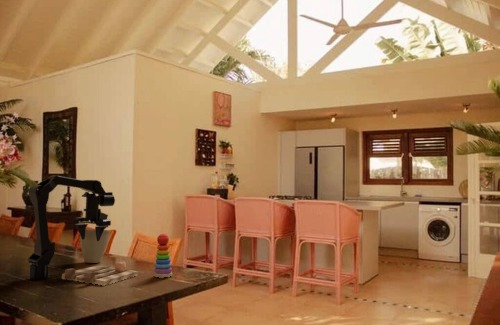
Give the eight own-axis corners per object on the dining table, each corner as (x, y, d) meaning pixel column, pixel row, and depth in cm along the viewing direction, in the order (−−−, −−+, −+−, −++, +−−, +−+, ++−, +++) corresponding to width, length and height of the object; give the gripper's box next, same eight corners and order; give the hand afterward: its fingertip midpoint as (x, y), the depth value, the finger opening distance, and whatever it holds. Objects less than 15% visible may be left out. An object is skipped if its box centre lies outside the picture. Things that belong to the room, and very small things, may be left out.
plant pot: (113, 261, 218) (116, 230, 220) (97, 264, 204) (101, 231, 206) (86, 259, 221) (90, 228, 223) (69, 262, 206) (73, 229, 208)
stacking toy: (164, 273, 192) (165, 232, 193) (175, 276, 187) (177, 233, 188) (150, 276, 186) (151, 233, 187) (161, 279, 181) (162, 235, 182)
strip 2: (88, 283, 168) (89, 273, 168) (83, 282, 169) (84, 272, 170) (127, 272, 188) (127, 263, 188) (122, 271, 189) (122, 263, 189)
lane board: (101, 286, 167) (101, 280, 167) (58, 279, 178) (58, 273, 178) (137, 275, 187) (137, 270, 187) (97, 269, 197) (97, 264, 197)
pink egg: (120, 272, 183) (120, 264, 183) (112, 270, 185) (113, 262, 185) (127, 270, 187) (127, 262, 187) (120, 269, 189) (120, 261, 189)
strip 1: (69, 279, 173) (69, 270, 173) (64, 278, 174) (64, 269, 174) (108, 269, 193) (109, 261, 193) (104, 268, 194) (104, 260, 194)
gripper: (119, 207, 201) (118, 240, 200) (90, 205, 209) (88, 236, 208) (102, 208, 191) (101, 242, 190) (72, 206, 199) (70, 239, 198)
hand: (90, 240), depth 197 cm, fingers open, 9 cm apart
